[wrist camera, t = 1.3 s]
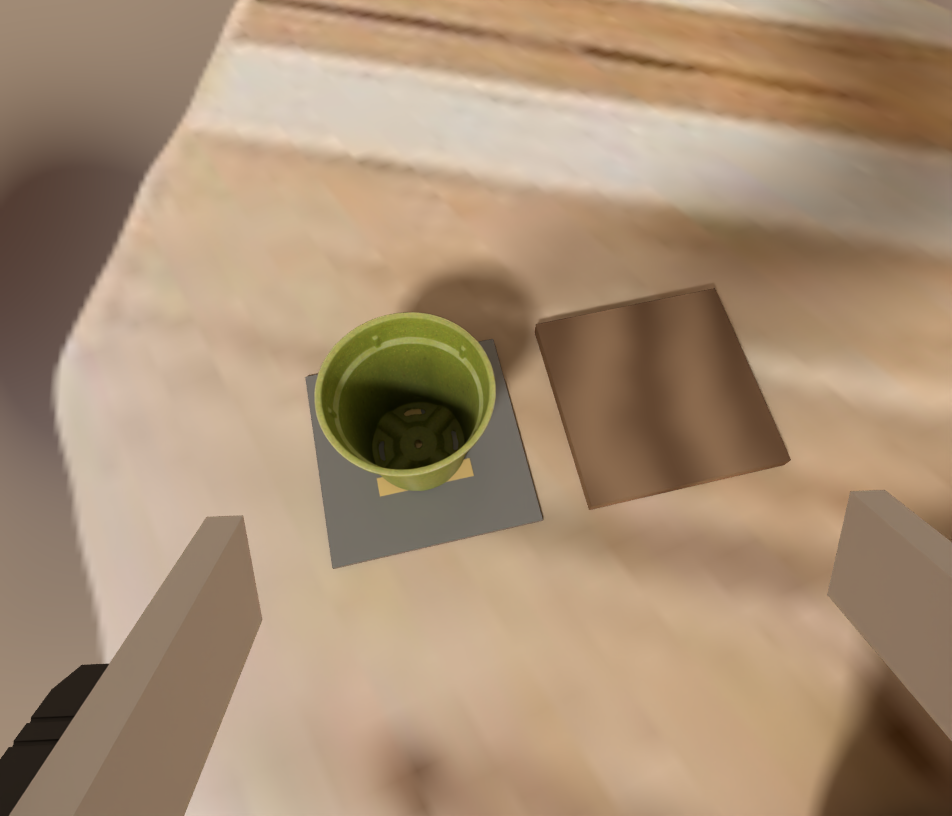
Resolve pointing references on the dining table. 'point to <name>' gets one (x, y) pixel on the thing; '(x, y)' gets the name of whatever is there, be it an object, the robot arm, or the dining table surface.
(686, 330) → the walnut board
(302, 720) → the dining table surface
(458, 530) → the slate mat
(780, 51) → the dining table surface
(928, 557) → the robot arm
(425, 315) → the plant pot
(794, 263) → the dining table surface
